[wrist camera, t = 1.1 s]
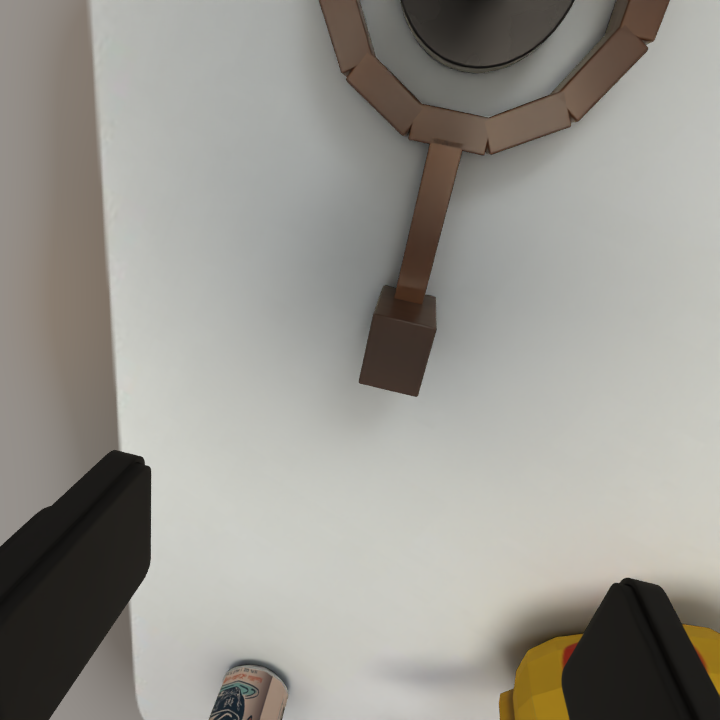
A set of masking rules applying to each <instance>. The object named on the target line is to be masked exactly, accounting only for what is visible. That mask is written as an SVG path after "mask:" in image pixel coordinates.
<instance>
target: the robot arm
mask: <svg viewBox="0 0 720 720" xmlns="http://www.w3.org/2000/svg"><path fill="white" fill-rule="evenodd" d="M150 560H151V468H150V467H149V466H146V465H145V462H144V459H143V457H141V456H137V455H133V454H129V453H125V452H121V451H117V450H113V451H111V452H109V453H108V454H107V455H106V456H105V457H104V458H102V460H100V461H99V462H98V463H97V464H96V465H95V466H94V467H93V468H92V469H91V470H90V471H88V473H86V474H85V475H84V476H83V477H82V478H81V479H80V480H79V481H78V482H77V483H76V484H74V485H73V486H72V487H71V488H70V489H69V490H68V491H67V492H66V493H65V494H64V495H63V496H62V497H60V498H59V499H58V500H57V501H56V502H55V503H54V504H53V505H52V506H49V507H47V508H44V509H42V510H41V511H40V512H38V513H37V514H36V515H34V516H33V517H32V518H31V519H30V520H29V521H28V522H27V523H26V524H24V525H23V526H22V527H21V528H20V529H19V530H18V531H17V532H16V533H15V534H14V535H12V536H11V537H10V538H9V539H8V540H7V541H6V542H5V543H4V544H3V545H2V546H0V720H49V719H50V717H51V716H52V714H53V713H54V711H55V710H56V708H57V707H58V705H59V704H60V702H61V701H62V699H63V698H64V696H65V695H66V693H67V692H68V691H69V689H70V688H71V686H72V685H73V683H74V682H75V680H76V679H77V677H78V676H79V674H80V673H81V671H82V670H83V668H84V667H85V665H86V664H87V663H88V661H89V659H90V658H91V656H92V655H93V654H94V652H95V651H96V649H97V648H98V646H99V645H100V643H101V642H102V640H103V639H104V637H105V636H106V634H107V633H108V631H109V630H110V628H111V626H112V625H113V624H114V623H115V621H116V619H117V618H118V616H119V615H120V614H121V612H122V610H123V609H124V608H125V606H126V605H127V603H128V602H129V600H130V599H131V597H132V596H133V594H134V593H135V592H136V590H137V589H138V587H139V586H140V584H141V583H142V581H143V580H144V578H145V576H146V574H147V572H148V569H149V566H150ZM561 683H562V691H563V695H564V699H565V703H566V707H567V712H568V716H569V720H720V695H719V694H718V692H717V690H716V688H715V686H714V684H713V682H712V680H711V678H710V676H709V675H708V673H707V671H706V669H705V667H704V665H703V663H702V661H701V659H700V657H699V656H698V654H697V652H696V650H695V648H694V646H693V644H692V642H691V640H690V638H689V637H688V635H687V633H686V631H685V629H684V627H683V625H682V623H681V621H680V619H679V618H678V616H677V614H676V612H675V610H674V608H673V606H672V604H671V602H670V600H669V599H668V597H667V595H666V593H665V592H664V590H663V589H662V588H661V587H660V586H658V585H655V584H651V583H647V582H643V581H639V580H635V579H631V578H625V579H623V580H622V581H621V582H620V583H614V584H613V585H612V586H611V587H610V589H609V591H608V592H607V594H606V596H605V597H604V599H603V601H602V603H601V604H600V606H599V608H598V609H597V611H596V613H595V615H594V616H593V618H592V620H591V622H590V623H589V625H588V627H587V628H586V630H585V632H584V634H583V635H582V637H581V639H580V640H579V642H578V644H577V646H576V647H575V649H574V651H573V652H572V654H571V656H570V658H569V659H568V661H567V663H566V665H565V666H564V668H563V671H562V678H561Z"/></svg>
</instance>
